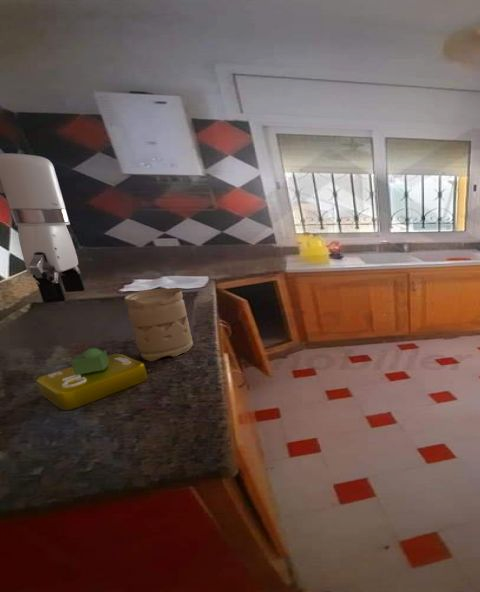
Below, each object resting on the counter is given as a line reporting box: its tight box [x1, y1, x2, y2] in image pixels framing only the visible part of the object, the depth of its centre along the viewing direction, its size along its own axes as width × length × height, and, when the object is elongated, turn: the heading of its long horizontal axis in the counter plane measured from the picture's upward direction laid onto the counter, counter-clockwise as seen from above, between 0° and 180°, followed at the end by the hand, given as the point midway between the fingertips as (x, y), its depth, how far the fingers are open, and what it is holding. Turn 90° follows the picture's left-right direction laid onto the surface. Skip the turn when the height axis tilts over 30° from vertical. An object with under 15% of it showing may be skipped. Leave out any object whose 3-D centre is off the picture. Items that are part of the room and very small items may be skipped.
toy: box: [70, 347, 109, 375], centre depth 74 cm, size 5×4×5 cm
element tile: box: [36, 353, 148, 411], centre depth 75 cm, size 15×15×5 cm
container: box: [124, 287, 194, 362], centre depth 92 cm, size 13×13×18 cm
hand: (65, 296), depth 71 cm, fingers open, 9 cm apart
